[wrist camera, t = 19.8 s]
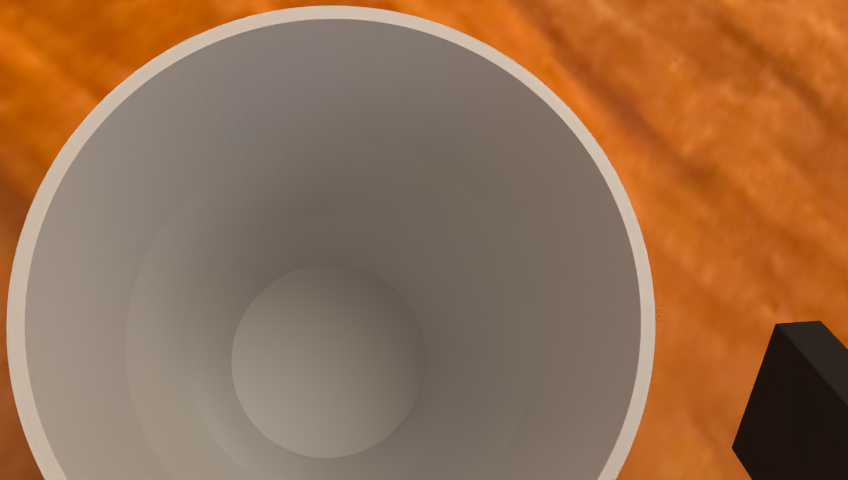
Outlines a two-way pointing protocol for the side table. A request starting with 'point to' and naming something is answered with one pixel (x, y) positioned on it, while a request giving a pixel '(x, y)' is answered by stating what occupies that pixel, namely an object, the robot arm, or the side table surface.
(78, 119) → the side table surface
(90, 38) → the side table surface
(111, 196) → the cup
